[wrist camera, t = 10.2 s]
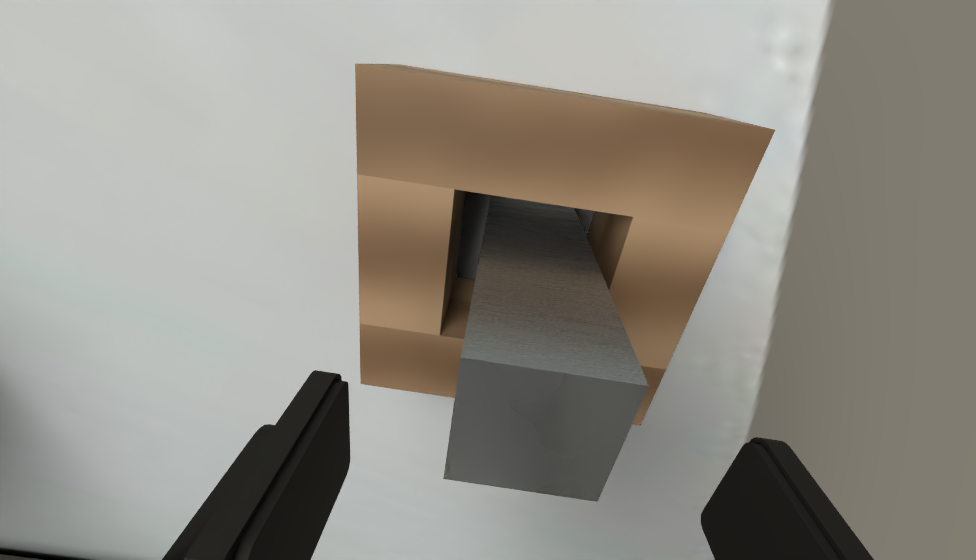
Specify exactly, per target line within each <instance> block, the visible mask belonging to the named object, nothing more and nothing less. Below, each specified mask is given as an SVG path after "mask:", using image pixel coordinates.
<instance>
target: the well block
mask: <svg viewBox="0 0 976 560" xmlns="http://www.w3.org/2000/svg"><path fill="white" fill-rule="evenodd" d="M355 72H356V131H357V191H358V250H359V310H360V369H361V384H365V385H372V386H379V387H385V388H392V389H399V390H406V391H412V392H419V393H426V394H433V395H439V396H446V397H453V398H455V394H456V387H457V380H458V373H459V365H460V358H461V353H462V348H463V342H464V337H465V332H466V326H467V321H468V316H469V311H470V305H471V300H472V295H473V289H474V284H475V280H473V279H466V278H460V277H456V274H457V266H458V257H459V248H460V240H461V231H462V222H463V213H464V205H465V196H466V191H469V192H475V193H482V194H488V195H495V196H501V197H508V198H514V199H521V200H527V201H534V202H540V203H547V204H553V205H560V206H566V207H572V208H579V209H585V210H592V211H595V212H594V215H593V219H592V222H591V226H590V230H589V233H588V237H587V239H588V242H589V244H590V246H591V249H592V251H593V254H594V256H595V258H596V261H597V263H598V266H599V268H600V270H601V273H602V275H603V278H604V280H605V282H606V285H607V287H608V289H609V292H610V294H611V297H612V299H613V301H614V304H615V306H616V309H617V311H618V313H619V316H620V318H621V321H622V323H623V325H624V328H625V330H626V333H627V335H628V337H629V340H630V342H631V344H632V347H633V349H634V352H635V354H636V356H637V359H638V361H639V364H640V366H641V368H642V371H643V373H644V376H645V378H646V380H647V383H648V385H649V387H648V389H647V391H646V393H645V396H644V398H643V400H642V402H641V405H640V407H639V409H638V411H637V414H636V416H635V418H634V420H633V423H632V424H635V425H641V423H642V421H643V419H644V416H645V414H646V412H647V410H648V408H649V405H650V403H651V401H652V399H653V397H654V394H655V392H656V390H657V388H658V386H659V384H660V381H661V379H662V377H663V375H664V373H665V370H666V368H667V366H668V364H669V362H670V359H671V357H672V355H673V353H674V351H675V348H676V346H677V344H678V342H679V340H680V338H681V335H682V333H683V331H684V329H685V327H686V324H687V322H688V320H689V318H690V316H691V313H692V311H693V309H694V307H695V305H696V302H697V300H698V298H699V296H700V294H701V291H702V289H703V287H704V285H705V283H706V281H707V278H708V276H709V274H710V272H711V270H712V267H713V265H714V263H715V261H716V259H717V256H718V254H719V252H720V250H721V248H722V245H723V243H724V241H725V239H726V237H727V235H728V232H729V230H730V228H731V226H732V224H733V221H734V219H735V217H736V215H737V213H738V210H739V208H740V206H741V204H742V202H743V199H744V197H745V195H746V193H747V191H748V188H749V186H750V184H751V182H752V180H753V178H754V175H755V173H756V171H757V169H758V167H759V164H760V162H761V160H762V158H763V156H764V153H765V151H766V149H767V147H768V145H769V142H770V140H771V138H772V136H773V134H774V132H775V130H773V129H769V128H765V127H761V126H757V125H753V124H748V123H744V122H740V121H736V120H732V119H728V118H723V117H719V116H715V115H711V114H707V113H702V112H696V111H690V110H683V109H677V108H671V107H664V106H658V105H652V104H645V103H639V102H633V101H626V100H620V99H614V98H607V97H601V96H595V95H589V94H582V93H576V92H570V91H563V90H557V89H551V88H544V87H538V86H532V85H525V84H519V83H513V82H506V81H500V80H494V79H487V78H481V77H475V76H468V75H462V74H456V73H449V72H443V71H437V70H430V69H424V68H418V67H412V66H405V65H393V64H355Z"/></svg>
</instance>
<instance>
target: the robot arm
mask: <svg viewBox="0 0 976 560" xmlns="http://www.w3.org/2000/svg"><path fill="white" fill-rule="evenodd" d="M349 464H350V432H349V392H348V382H345V381H342V380H341V375H340V374H336V373H329V372H322V371H316V370H315V371H313V372H312V373H311V374H310V376H309V377H308V379H307V380H306V382H305V383H304V384H303V386H302V387H301V389H300V390H299V392H298V393H297V394H296V396H295V397H294V399H293V400H292V402H291V403H290V405H289V406H288V407H287V409H286V410H285V412H284V413H283V415H282V416H281V418H280V419H279V420H278V422H277V423H276V425H270V424H268V425H264V426H262V427H261V428H259V430H258V431H257V432H256V433H255V434H254V435H253V437H252V438H251V439H250V441H249V442H248V443H247V445H246V446H245V448H244V449H243V450H242V452H241V453H240V454H239V456H238V457H237V458H236V460H235V461H234V463H233V464H232V465H231V467H230V468H229V469H228V471H227V472H226V473H225V475H224V476H223V477H222V479H221V480H220V482H219V483H218V484H217V486H216V487H215V488H214V490H213V491H212V492H211V494H210V495H209V497H208V498H207V499H206V501H205V502H204V503H203V505H202V506H201V507H200V509H199V510H198V511H197V513H196V514H195V516H194V517H193V518H192V520H191V521H190V522H189V524H188V525H187V526H186V528H185V529H184V531H183V532H182V533H181V535H180V536H179V537H178V539H177V540H176V541H175V543H174V544H173V545H172V547H171V548H170V550H169V551H168V552H167V554H166V555H165V556H164V558H163V559H162V560H311V557H312V555H313V553H314V550H315V548H316V546H317V543H318V541H319V539H320V536H321V534H322V532H323V529H324V527H325V525H326V522H327V520H328V518H329V515H330V513H331V510H332V508H333V506H334V503H335V501H336V499H337V496H338V494H339V492H340V489H341V487H342V485H343V482H344V480H345V478H346V475H347V472H348V469H349ZM701 525H702V529H703V531H704V534H705V536H706V539H707V541H708V543H709V546H710V548H711V551H712V553H713V555H714V558H715V560H874V559H873V558H872V557H871V555H870V554H869V553H868V551H867V550H866V549H865V547H864V546H863V544H862V543H861V542H860V540H859V539H858V538H857V536H856V535H855V534H854V532H853V531H852V530H851V529H850V527H849V526H848V524H847V523H846V522H845V520H844V519H843V518H842V516H841V515H840V514H839V512H838V511H837V510H836V508H835V507H834V506H833V504H832V503H831V501H830V500H829V499H828V497H827V496H826V495H825V493H824V492H823V491H822V490H821V488H820V487H819V486H818V484H817V483H816V481H815V480H814V479H813V477H812V476H811V475H810V473H809V472H808V471H807V470H806V468H805V467H804V465H803V464H802V463H801V461H800V460H799V459H798V458H797V456H796V454H795V453H794V452H793V450H792V449H791V448H790V447H789V446H788V445H787V444H786V443H785V442H783V441H777V440H771V439H764V438H753V439H752V440H751V441H750V442H749V443H745V444H744V445H743V447H742V448H741V450H740V451H739V453H738V455H737V456H736V458H735V460H734V461H733V463H732V464H731V466H730V468H729V469H728V471H727V472H726V474H725V476H724V477H723V479H722V481H721V482H720V484H719V485H718V487H717V489H716V490H715V492H714V493H713V495H712V497H711V498H710V500H709V502H708V503H707V505H706V506H705V508H704V510H703V511H702V514H701Z"/></svg>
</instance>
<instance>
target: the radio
mask: <svg viewBox="0 0 976 560" xmlns="http://www.w3.org/2000/svg"><path fill="white" fill-rule="evenodd" d="M0 560H42V559H34V558H26V557H18V556H10V555H2V554H0Z"/></svg>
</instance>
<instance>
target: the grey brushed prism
mask: <svg viewBox="0 0 976 560" xmlns="http://www.w3.org/2000/svg"><path fill="white" fill-rule="evenodd" d="M648 387H649V385H648V383H647V380H646V378H645V376H644V373H643V371H642V368H641V366H640V364H639V361H638V359H637V356H636V354H635V352H634V349H633V347H632V344H631V342H630V340H629V337H628V335H627V333H626V330H625V328H624V325H623V323H622V321H621V318H620V316H619V313H618V311H617V309H616V306H615V304H614V301H613V299H612V297H611V294H610V292H609V289H608V287H607V285H606V282H605V280H604V278H603V275H602V273H601V270H600V268H599V266H598V263H597V261H596V258H595V256H594V254H593V251H592V249H591V246H590V244H589V242H588V239H587V237H586V234H585V232H584V230H583V227H582V225H581V223H580V220H579V218H578V215H577V213H576V211H575V208H572V207H566V206H560V205H553V204H547V203H540V202H534V201H527V200H521V199H514V198H508V197H501V196H495V195H491V200H490V205H489V210H488V215H487V221H486V226H485V231H484V237H483V242H482V247H481V252H480V258H479V263H478V268H477V274H476V279H475V284H474V289H473V295H472V300H471V305H470V311H469V316H468V321H467V326H466V332H465V337H464V342H463V348H462V353H461V358H460V365H459V373H458V380H457V387H456V394H455V401H454V408H453V416H452V423H451V430H450V437H449V444H448V451H447V458H446V466H445V473H444V479H448V480H455V481H462V482H469V483H475V484H482V485H489V486H496V487H502V488H509V489H516V490H523V491H530V492H536V493H543V494H550V495H557V496H563V497H570V498H577V499H584V500H590V501H598V499H599V497H600V494H601V492H602V490H603V488H604V485H605V483H606V481H607V479H608V476H609V474H610V472H611V470H612V468H613V465H614V463H615V461H616V459H617V456H618V454H619V452H620V450H621V447H622V445H623V443H624V441H625V438H626V436H627V434H628V432H629V429H630V427H631V425H632V423H633V420H634V418H635V416H636V414H637V411H638V409H639V407H640V405H641V402H642V400H643V398H644V396H645V393H646V391H647V389H648Z"/></svg>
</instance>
